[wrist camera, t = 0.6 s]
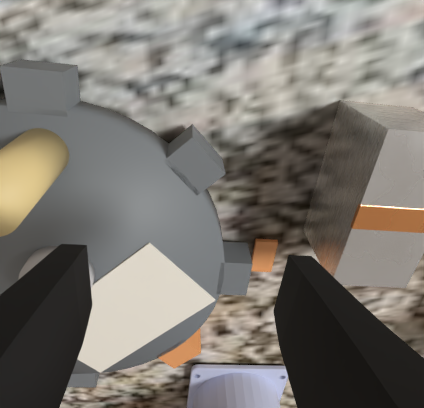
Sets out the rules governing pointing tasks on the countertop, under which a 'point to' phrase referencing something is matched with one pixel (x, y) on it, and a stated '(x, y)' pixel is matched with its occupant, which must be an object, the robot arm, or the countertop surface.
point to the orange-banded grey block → (370, 196)
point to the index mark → (264, 254)
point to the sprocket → (113, 218)
